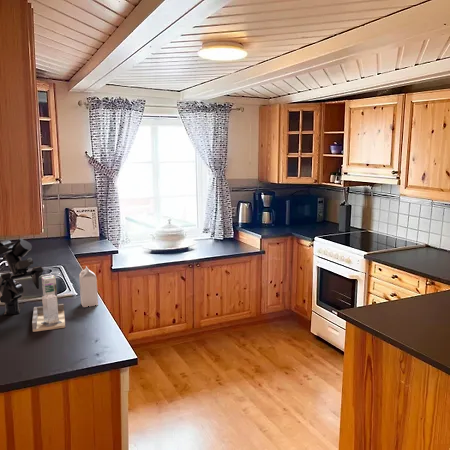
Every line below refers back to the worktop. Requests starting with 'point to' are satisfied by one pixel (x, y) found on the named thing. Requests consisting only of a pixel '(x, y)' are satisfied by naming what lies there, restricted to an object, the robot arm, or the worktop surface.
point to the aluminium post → (50, 309)
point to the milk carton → (88, 288)
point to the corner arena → (39, 319)
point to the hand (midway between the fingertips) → (28, 291)
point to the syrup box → (49, 285)
